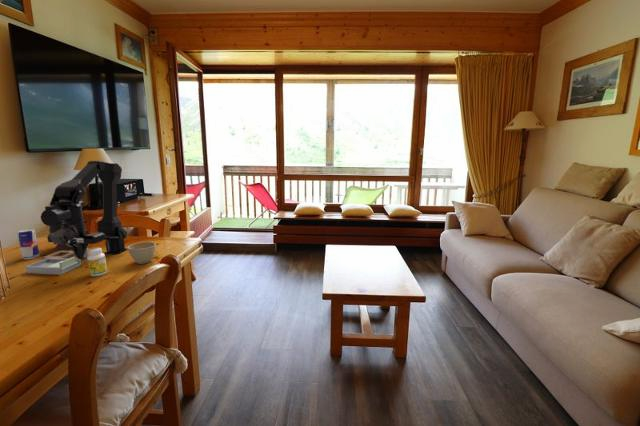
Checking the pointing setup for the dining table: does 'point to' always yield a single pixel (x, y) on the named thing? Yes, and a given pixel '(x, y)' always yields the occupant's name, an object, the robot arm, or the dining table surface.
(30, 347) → the dining table surface
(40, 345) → the dining table surface
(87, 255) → the peg
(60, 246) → the dark ball on stand
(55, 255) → the socket board
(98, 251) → the supplement bottle
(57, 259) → the gray box
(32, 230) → the energy drink
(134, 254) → the light gray bowl
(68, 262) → the lid
